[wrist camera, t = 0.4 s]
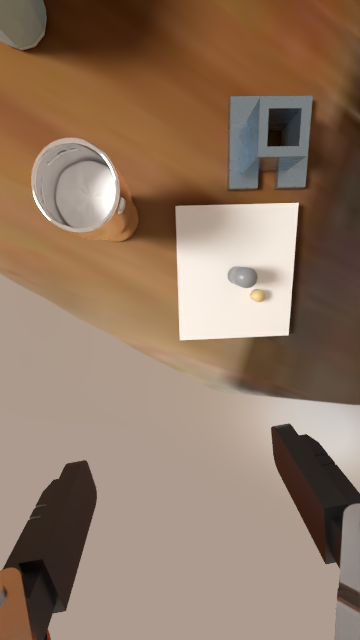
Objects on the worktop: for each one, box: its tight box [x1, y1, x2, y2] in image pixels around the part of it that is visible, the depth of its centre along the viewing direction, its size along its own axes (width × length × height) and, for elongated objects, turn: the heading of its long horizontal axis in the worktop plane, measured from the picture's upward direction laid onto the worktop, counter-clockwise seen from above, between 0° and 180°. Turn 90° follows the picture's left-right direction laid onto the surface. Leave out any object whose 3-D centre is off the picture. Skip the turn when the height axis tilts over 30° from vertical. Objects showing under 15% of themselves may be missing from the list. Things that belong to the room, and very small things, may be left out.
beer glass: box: [31, 138, 138, 242], centre depth 26 cm, size 7×7×15 cm
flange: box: [228, 96, 313, 191], centre depth 30 cm, size 10×10×5 cm
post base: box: [175, 203, 299, 340], centre depth 33 cm, size 18×16×6 cm
